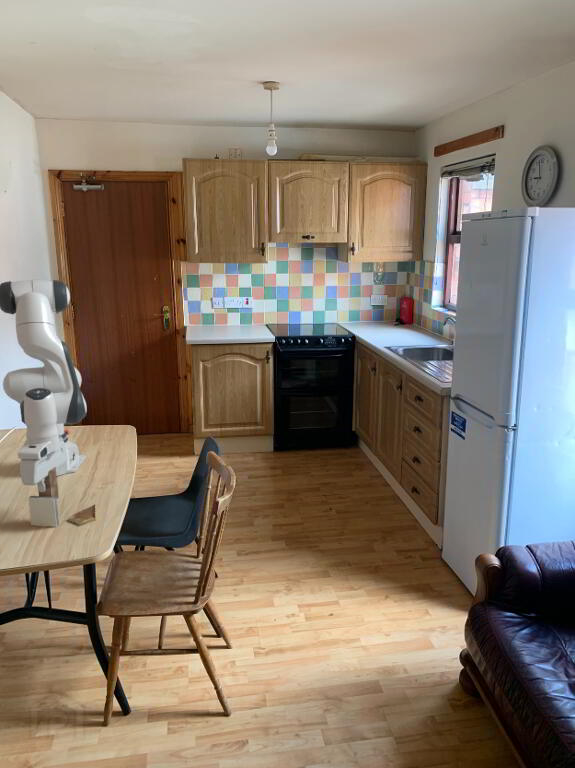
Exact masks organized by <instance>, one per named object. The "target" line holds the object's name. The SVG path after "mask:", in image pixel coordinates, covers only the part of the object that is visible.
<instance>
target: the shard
mask: <svg viewBox="0 0 575 768" xmlns="http://www.w3.org/2000/svg"><path fill="white" fill-rule="evenodd" d="M96 511H97V510H96V504H92V505H91V506H88V507H87V508H84V509H82V510H80V511H78V512H76V513H74V514H73V515H70V516H69V517H68V518H67V520H68V522H71V521H72V522H71V523H75V524H77V525H79V524H80V525H79V526H82V525H85V524H89V523H92V521H93V522H95V521H96V520H97V518H96V516H97V515H96ZM84 523H85V524H84Z"/></svg>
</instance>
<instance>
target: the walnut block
mask: <svg viewBox="0 0 575 768" xmlns="http://www.w3.org/2000/svg"><path fill="white" fill-rule="evenodd" d="M44 479H45V481H44V484H47V490H46V491H44V492H40V491H39V486H38V485H37V489H38V496H45V497H56V498H57V499H59V497H60V496H59V495H60V494H59V487H58V486H59V484H58V476H57V473H56V467H54V468H53V469H51V470H50V471H49V474H48V476H46V477H45V478H44Z"/></svg>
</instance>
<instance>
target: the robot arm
mask: <svg viewBox="0 0 575 768" xmlns="http://www.w3.org/2000/svg"><path fill="white" fill-rule="evenodd" d="M70 302H71V293H70V290H69V288H68V287H67V284H66V283H65V282H64V281H61V280H57V279H53V280H48V279H31V280H30V279H27V280H17V281H11V280H9V281H5V282H1V283H0V310H1V311H2V312H3V313H4V314H9V315H15V330H16V331H15V332H16V338H17V344H18V345H19V347H21V349H22V351H23V352H24V354H26V356H28V357H29V358H32V359H34V360H38V361H40V362H41V363H42V364H43V366H39V367H28V368H27V367H26V368H19V369H15V370H12V371H9V372H7V373H6V375H5V376H4V377H3V382H2V386H3V387H2V388H3V391H4V393H5V394H6V396H7V397H8V398H10V399H12V400H14V401H15V402H17V403H18V404H19V409H20V415H21V416H20V417H21V422H22V423H23V424H24V425H26V434H25V437H26V440H25V441H24V444H23V445H22V447H21V448H20V449H19V451H18V452H17V458H18V459H19V460H20V462H19V472H20V479H21V482H22V484H23V485H25V486H36V485H37V487H38V486H39V491H40V492H44V491H46V490H47V484H44V481H45V479H44V478H45V477H46V476H48V474H49V471H50V470H51V469H53V468H54V467H56V473H57V477H58V476H62V475H66V474H71V473H75V472H77V471H78V469H79V468H80V467H81V465H82V464H83V462H84V461H85V459H86V456H87V455H85V454H82V453H80V451H79V447H78V444H76V443H74V442H73V441H71V440H69V438H68V435H69V436H70V435H71V430H70V429H67V428H65V424H70V425H71V424H74V425H75V424H76V425H77V424H78V423H80V422H81V421H82V420H83V419H85V417H86V416H87V412H88V411H87V410H88V409H87V407H88V406H87V402H86V399H85V398H84V395H83V393H82V391H81V385H82V381H83V378H82V375H81V372H80V371H79V370H78V368H76V367H75V366H74V361H73V358H72V356H71V355H72V354H71V353H70V350H69V348H68V347H69V346H68V345H67V344H66V342H65V341H63V340H60V338H59V337H58V335H57V333H56V325H55V323H56V322H55V318H54V314H53V312H56V314H57V315H58V314H60V313H61V312H63V311H65V310H67V309H68V307H69V304H70Z"/></svg>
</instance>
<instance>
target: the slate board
mask: <svg viewBox="0 0 575 768" xmlns="http://www.w3.org/2000/svg"><path fill="white" fill-rule="evenodd" d="M57 499H58V498H56V497H45V496H39V495H30V496H28V507H29V517H30V525H31V526H32V525H36V527H47V526H52V527H51V528H57V527H59V525H60V520H59V510H58V501H57Z"/></svg>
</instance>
